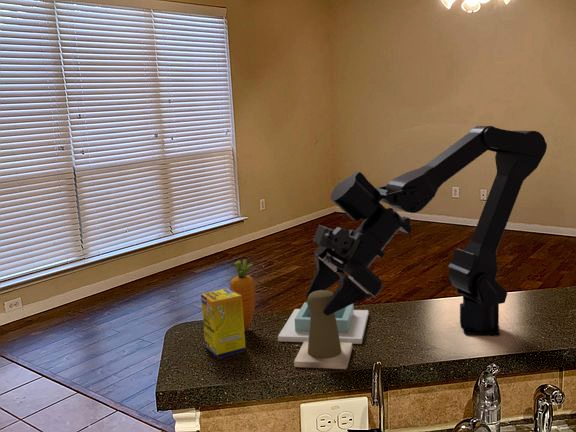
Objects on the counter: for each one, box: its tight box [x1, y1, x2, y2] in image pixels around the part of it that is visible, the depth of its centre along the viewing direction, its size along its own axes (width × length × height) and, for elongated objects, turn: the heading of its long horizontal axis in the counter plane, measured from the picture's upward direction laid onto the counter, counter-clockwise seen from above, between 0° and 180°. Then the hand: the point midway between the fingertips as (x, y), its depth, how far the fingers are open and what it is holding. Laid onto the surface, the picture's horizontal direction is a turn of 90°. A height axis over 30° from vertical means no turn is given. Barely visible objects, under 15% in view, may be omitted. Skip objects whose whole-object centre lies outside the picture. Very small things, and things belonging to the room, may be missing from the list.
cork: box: [306, 289, 341, 359], centre depth 101 cm, size 6×6×11 cm
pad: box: [293, 341, 353, 370], centre depth 101 cm, size 9×9×1 cm
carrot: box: [229, 259, 256, 332], centre depth 115 cm, size 5×5×15 cm
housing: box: [277, 301, 370, 345], centre depth 116 cm, size 16×16×4 cm
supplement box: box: [200, 287, 247, 359], centre depth 106 cm, size 6×6×11 cm
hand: (315, 305), depth 100 cm, fingers open, 9 cm apart
